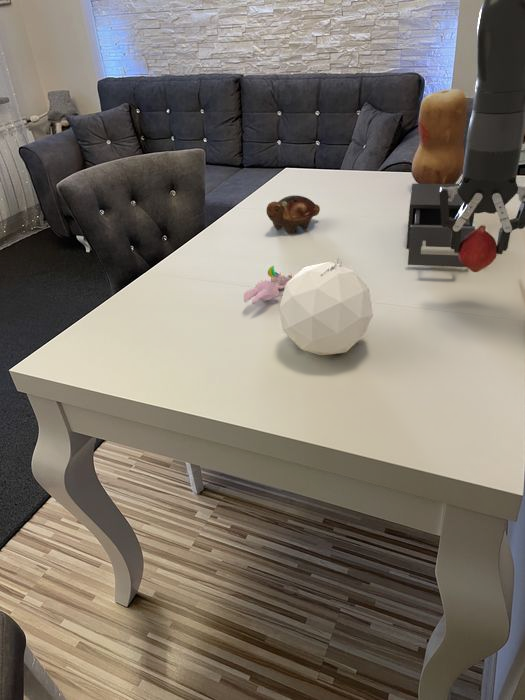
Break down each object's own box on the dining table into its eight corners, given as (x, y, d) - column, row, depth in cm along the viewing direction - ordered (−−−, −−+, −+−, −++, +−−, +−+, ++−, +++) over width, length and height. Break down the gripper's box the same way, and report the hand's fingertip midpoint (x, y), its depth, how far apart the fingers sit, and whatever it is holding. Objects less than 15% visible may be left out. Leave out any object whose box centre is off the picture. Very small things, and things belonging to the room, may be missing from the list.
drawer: (470, 278, 98) (476, 237, 94) (406, 275, 101) (409, 236, 97) (465, 240, 113) (470, 204, 109) (409, 239, 116) (412, 203, 112)
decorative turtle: (256, 233, 128) (254, 199, 124) (301, 220, 136) (300, 188, 132) (284, 240, 121) (283, 205, 117) (329, 226, 130) (330, 192, 126)
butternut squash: (402, 186, 150) (409, 88, 137) (447, 181, 152) (458, 83, 138) (423, 201, 139) (434, 95, 125) (472, 194, 140) (487, 90, 127)
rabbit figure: (271, 285, 106) (233, 308, 94) (271, 256, 104) (232, 276, 92) (300, 290, 104) (264, 314, 92) (301, 260, 101) (264, 281, 89)
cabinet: (468, 250, 111) (475, 205, 106) (406, 248, 114) (409, 204, 109) (465, 225, 122) (471, 183, 117) (408, 224, 126) (412, 183, 120)
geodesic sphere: (302, 278, 92) (282, 233, 79) (386, 287, 87) (379, 240, 74) (281, 360, 87) (256, 326, 74) (368, 374, 82) (358, 340, 70)
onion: (455, 278, 87) (461, 231, 82) (456, 263, 91) (461, 218, 87) (493, 280, 85) (502, 232, 81) (492, 265, 90) (500, 219, 85)
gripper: (441, 150, 76) (430, 259, 85) (553, 148, 72) (529, 263, 81) (441, 138, 82) (431, 241, 91) (544, 135, 78) (523, 244, 87)
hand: (477, 251), depth 86 cm, fingers closed on onion, 6 cm apart
